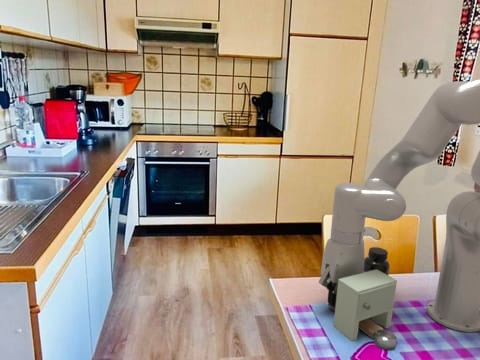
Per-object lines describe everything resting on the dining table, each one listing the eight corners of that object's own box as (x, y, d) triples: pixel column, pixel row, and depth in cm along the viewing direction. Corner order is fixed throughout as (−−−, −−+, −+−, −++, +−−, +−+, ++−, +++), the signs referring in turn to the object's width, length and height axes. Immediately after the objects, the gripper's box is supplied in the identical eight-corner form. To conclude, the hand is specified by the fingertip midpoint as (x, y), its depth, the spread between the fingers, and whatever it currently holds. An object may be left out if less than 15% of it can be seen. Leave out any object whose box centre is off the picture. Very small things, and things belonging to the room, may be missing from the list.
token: (383, 335, 88) (385, 327, 88) (399, 346, 85) (401, 338, 84) (369, 340, 86) (370, 333, 86) (385, 352, 83) (386, 344, 82)
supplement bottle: (364, 297, 104) (369, 255, 101) (356, 284, 111) (361, 245, 108) (390, 297, 104) (395, 256, 102) (380, 284, 111) (385, 245, 108)
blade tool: (340, 301, 101) (343, 273, 99) (384, 333, 88) (388, 301, 86) (328, 305, 99) (330, 276, 97) (371, 338, 86) (375, 305, 84)
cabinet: (370, 313, 97) (376, 269, 94) (394, 329, 90) (401, 282, 88) (333, 326, 91) (338, 279, 88) (355, 344, 85) (361, 294, 82)
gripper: (361, 225, 100) (354, 289, 105) (309, 234, 93) (303, 303, 97) (384, 235, 94) (375, 303, 98) (330, 246, 86) (323, 319, 91)
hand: (339, 302), depth 98 cm, fingers closed on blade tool, 4 cm apart
